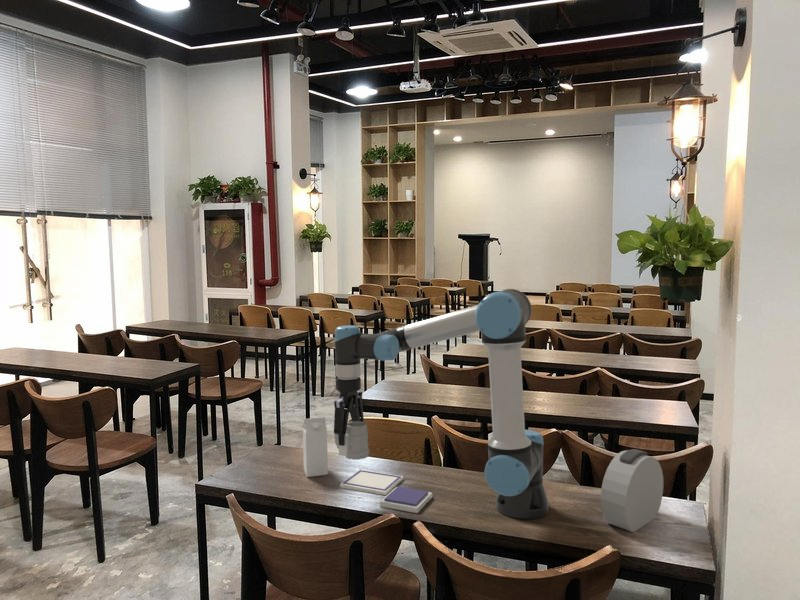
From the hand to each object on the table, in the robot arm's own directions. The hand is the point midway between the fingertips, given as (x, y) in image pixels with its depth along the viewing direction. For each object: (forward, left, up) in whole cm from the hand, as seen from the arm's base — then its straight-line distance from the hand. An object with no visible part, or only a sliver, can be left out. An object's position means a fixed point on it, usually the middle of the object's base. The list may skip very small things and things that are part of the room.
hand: (349, 450), depth 186 cm
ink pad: (-17, -4, -15) cm, 23 cm away
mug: (0, 0, -1) cm, 1 cm away
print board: (-1, -13, -15) cm, 20 cm away
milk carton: (+21, -14, -15) cm, 29 cm away
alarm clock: (-80, -17, -15) cm, 83 cm away
